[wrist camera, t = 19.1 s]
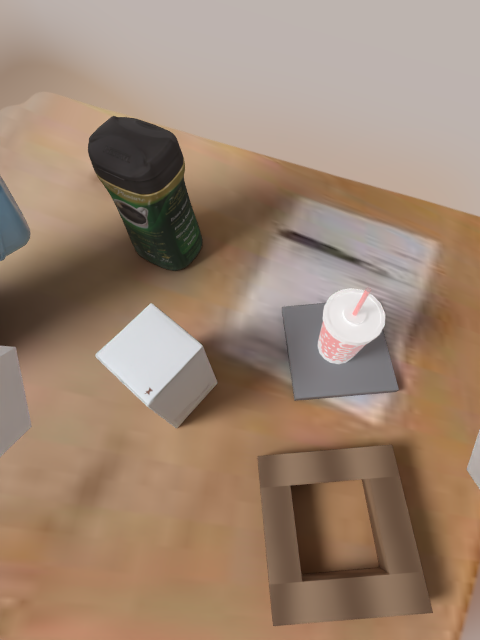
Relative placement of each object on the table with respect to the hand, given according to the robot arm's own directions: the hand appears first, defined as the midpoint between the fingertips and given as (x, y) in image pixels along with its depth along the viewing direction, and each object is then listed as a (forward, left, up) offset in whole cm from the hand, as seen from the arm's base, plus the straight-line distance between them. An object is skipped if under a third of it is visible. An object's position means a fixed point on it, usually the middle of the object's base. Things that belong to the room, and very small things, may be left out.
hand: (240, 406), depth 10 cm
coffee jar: (-9, +31, -33) cm, 46 cm away
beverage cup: (+11, +13, -32) cm, 36 cm away
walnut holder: (+8, -6, -33) cm, 34 cm away
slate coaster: (+12, +13, -33) cm, 37 cm away
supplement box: (-8, +10, -33) cm, 35 cm away
